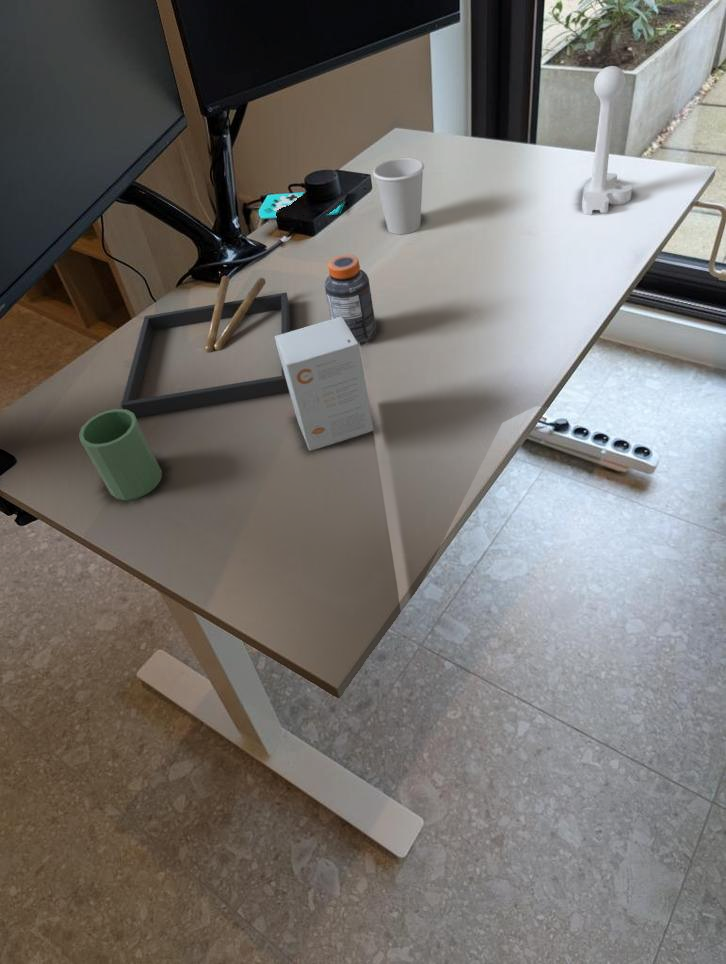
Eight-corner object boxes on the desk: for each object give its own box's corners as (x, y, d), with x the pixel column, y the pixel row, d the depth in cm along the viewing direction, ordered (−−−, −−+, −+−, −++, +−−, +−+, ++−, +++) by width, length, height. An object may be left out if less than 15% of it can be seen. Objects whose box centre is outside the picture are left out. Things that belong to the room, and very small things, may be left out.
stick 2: (258, 277, 102) (211, 347, 97) (262, 274, 101) (214, 346, 96) (264, 282, 102) (217, 353, 97) (268, 280, 101) (221, 351, 96)
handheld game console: (269, 199, 133) (267, 192, 132) (348, 194, 130) (347, 187, 129) (255, 223, 127) (253, 216, 126) (339, 218, 123) (337, 211, 122)
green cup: (107, 508, 78) (73, 451, 71) (116, 471, 82) (85, 413, 76) (160, 499, 78) (131, 441, 71) (166, 462, 82) (139, 404, 76)
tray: (292, 396, 88) (287, 378, 86) (129, 423, 88) (120, 405, 86) (290, 309, 103) (286, 292, 101) (151, 333, 104) (144, 316, 102)
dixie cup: (395, 243, 114) (389, 182, 107) (371, 226, 119) (363, 168, 112) (437, 226, 116) (434, 166, 109) (411, 211, 121) (406, 153, 114)
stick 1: (229, 274, 102) (212, 349, 96) (230, 280, 103) (213, 354, 97) (221, 273, 102) (203, 348, 96) (222, 279, 103) (204, 354, 97)
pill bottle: (357, 318, 99) (345, 245, 91) (385, 332, 95) (375, 257, 87) (326, 337, 96) (311, 264, 88) (354, 352, 93) (341, 277, 85)
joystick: (588, 185, 119) (601, 55, 105) (634, 186, 116) (653, 53, 102) (577, 214, 112) (589, 79, 98) (625, 216, 110) (645, 77, 95)
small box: (358, 405, 85) (342, 314, 76) (375, 435, 80) (360, 342, 71) (297, 424, 84) (272, 334, 75) (309, 456, 79) (286, 365, 70)
